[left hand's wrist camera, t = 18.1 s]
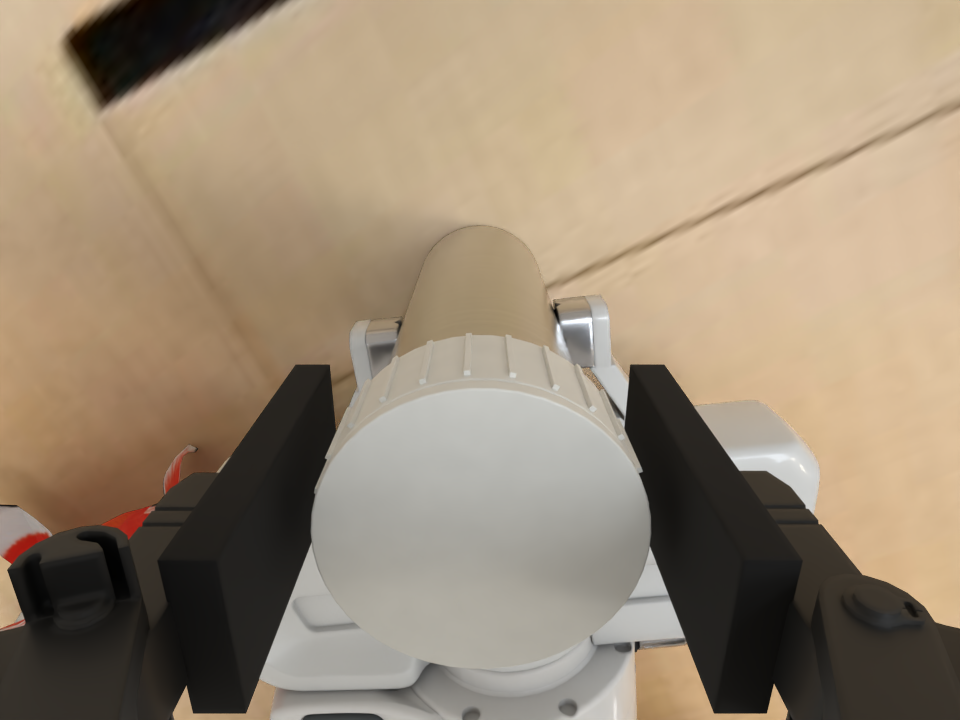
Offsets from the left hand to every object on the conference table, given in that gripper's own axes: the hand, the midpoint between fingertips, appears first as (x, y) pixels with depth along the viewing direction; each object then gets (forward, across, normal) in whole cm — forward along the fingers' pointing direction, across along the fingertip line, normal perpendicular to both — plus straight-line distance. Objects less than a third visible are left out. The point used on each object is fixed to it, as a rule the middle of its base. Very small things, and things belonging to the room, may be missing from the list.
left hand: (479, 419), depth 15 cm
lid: (-4, 0, 0) cm, 4 cm away
